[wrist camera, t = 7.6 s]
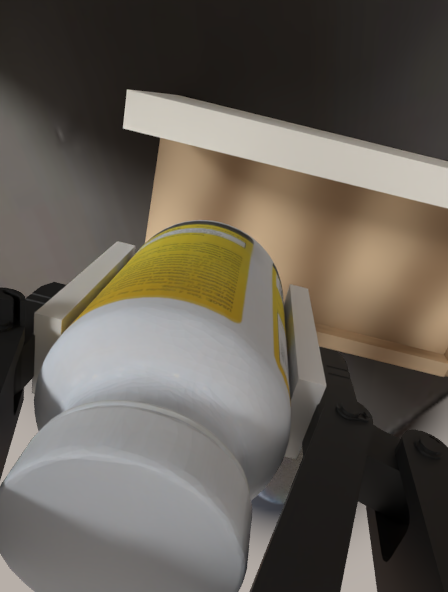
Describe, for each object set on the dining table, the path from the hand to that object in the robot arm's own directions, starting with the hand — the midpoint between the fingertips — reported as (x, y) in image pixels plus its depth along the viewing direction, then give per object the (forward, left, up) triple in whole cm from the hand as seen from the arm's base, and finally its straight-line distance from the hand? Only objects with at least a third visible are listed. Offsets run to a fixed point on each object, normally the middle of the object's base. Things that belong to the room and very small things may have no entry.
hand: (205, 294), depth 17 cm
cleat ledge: (+5, 0, -13) cm, 14 cm away
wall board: (+5, +6, -13) cm, 15 cm away
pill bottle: (0, 0, -1) cm, 1 cm away
